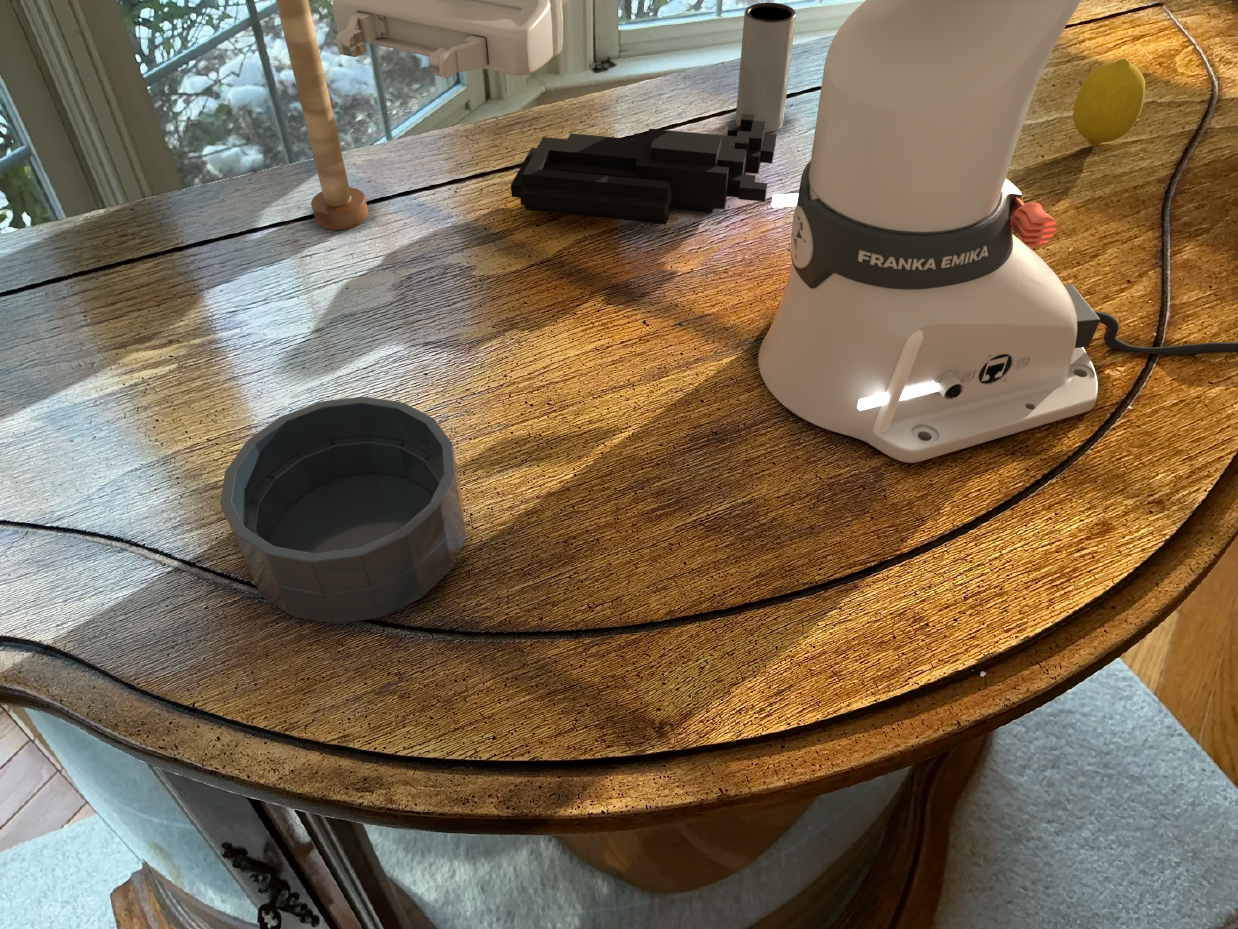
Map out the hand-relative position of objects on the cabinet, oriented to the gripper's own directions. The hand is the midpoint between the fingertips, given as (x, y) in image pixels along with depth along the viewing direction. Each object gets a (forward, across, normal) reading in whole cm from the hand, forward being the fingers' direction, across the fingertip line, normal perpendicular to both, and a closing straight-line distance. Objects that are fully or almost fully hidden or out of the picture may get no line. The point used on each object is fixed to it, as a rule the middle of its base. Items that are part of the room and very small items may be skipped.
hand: (389, 57), depth 81 cm
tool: (-6, +21, +10) cm, 24 cm away
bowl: (+38, +24, +10) cm, 46 cm away
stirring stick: (+9, 0, +10) cm, 14 cm away
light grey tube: (-22, +25, +10) cm, 35 cm away
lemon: (-32, +54, +10) cm, 64 cm away
